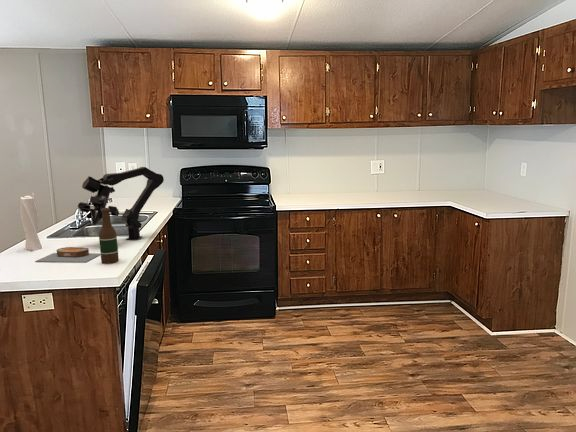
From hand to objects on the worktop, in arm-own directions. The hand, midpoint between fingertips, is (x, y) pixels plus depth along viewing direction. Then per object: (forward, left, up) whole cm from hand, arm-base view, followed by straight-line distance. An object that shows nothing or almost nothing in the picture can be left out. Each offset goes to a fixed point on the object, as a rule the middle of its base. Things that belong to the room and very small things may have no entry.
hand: (93, 224), depth 231 cm
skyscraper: (+2, -31, -12) cm, 34 cm away
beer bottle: (+23, +19, -12) cm, 32 cm away
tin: (+9, -3, -10) cm, 15 cm away
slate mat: (+18, -3, -12) cm, 22 cm away
